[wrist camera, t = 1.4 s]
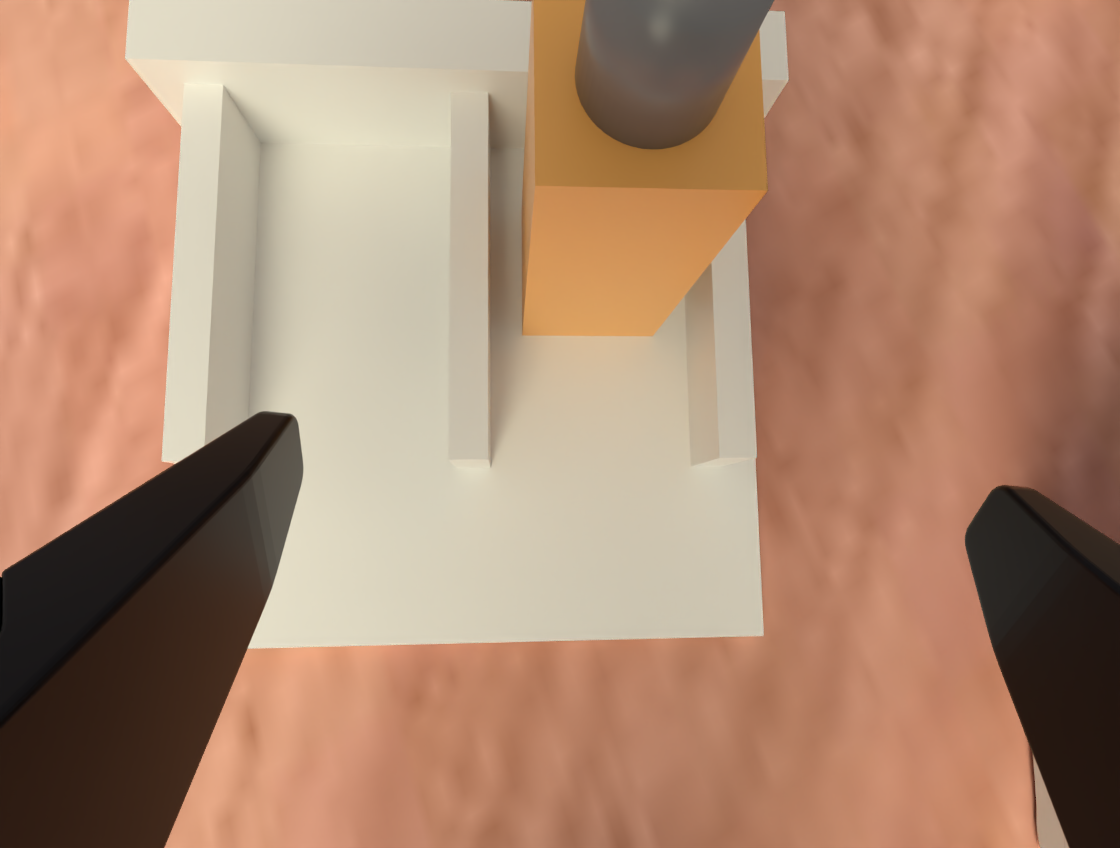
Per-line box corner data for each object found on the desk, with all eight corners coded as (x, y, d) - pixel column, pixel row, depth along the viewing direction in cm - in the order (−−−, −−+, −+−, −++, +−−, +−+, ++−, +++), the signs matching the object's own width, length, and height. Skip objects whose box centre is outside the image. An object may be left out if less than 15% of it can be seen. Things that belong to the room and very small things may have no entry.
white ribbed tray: (757, 632, 22) (821, 661, 18) (173, 646, 21) (81, 682, 16) (731, 78, 24) (783, -23, 20) (206, 61, 23) (133, -51, 19)
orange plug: (652, 336, 22) (848, 88, 10) (522, 335, 22) (544, 78, 9) (649, 212, 23) (830, -181, 10) (521, 209, 23) (541, -198, 10)
